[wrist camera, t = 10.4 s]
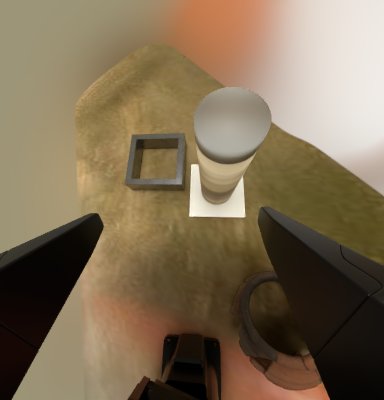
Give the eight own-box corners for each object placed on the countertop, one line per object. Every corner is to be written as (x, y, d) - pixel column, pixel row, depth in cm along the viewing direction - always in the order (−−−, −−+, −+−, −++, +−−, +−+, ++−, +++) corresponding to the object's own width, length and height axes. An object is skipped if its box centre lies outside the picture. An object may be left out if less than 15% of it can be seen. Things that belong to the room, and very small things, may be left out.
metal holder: (184, 190, 24) (181, 184, 21) (132, 189, 24) (124, 184, 22) (186, 143, 26) (184, 133, 23) (138, 144, 26) (132, 134, 24)
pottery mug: (222, 353, 18) (219, 351, 13) (240, 275, 24) (243, 249, 18) (356, 433, 14) (447, 484, 8) (339, 312, 19) (385, 292, 14)
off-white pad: (244, 217, 22) (245, 217, 21) (189, 216, 22) (189, 216, 22) (241, 165, 24) (242, 163, 23) (191, 165, 24) (191, 164, 24)
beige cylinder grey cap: (232, 204, 22) (275, 150, 8) (201, 204, 22) (192, 152, 9) (231, 175, 23) (267, 84, 9) (201, 175, 23) (194, 89, 10)
